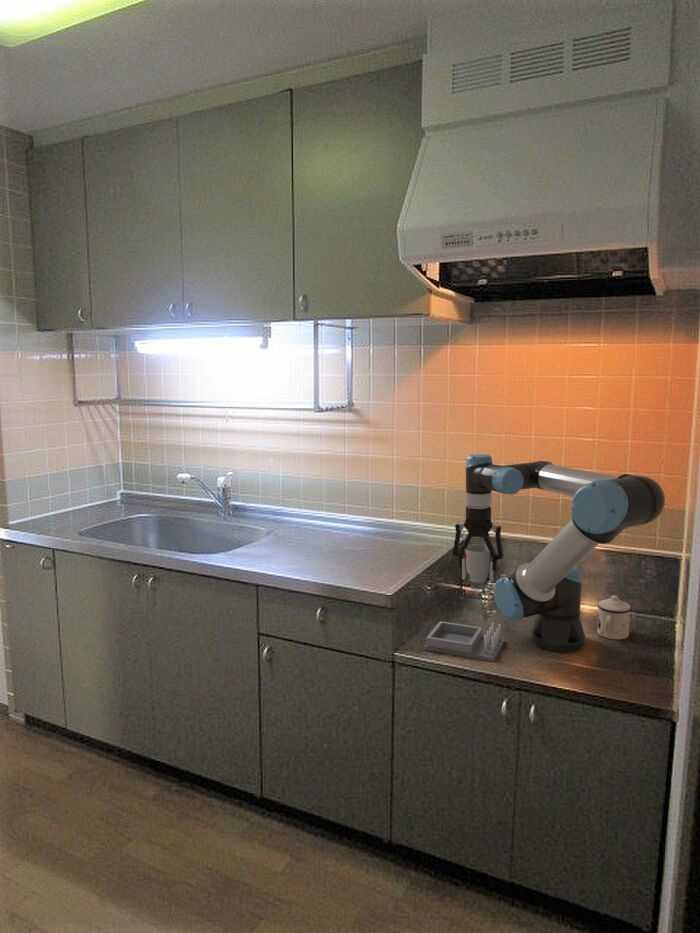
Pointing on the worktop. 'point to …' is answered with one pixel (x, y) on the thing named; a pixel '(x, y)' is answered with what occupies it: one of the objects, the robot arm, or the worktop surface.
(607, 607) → the teacup with lid
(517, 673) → the worktop surface
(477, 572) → the cup
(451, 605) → the worktop surface
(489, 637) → the dish rack
